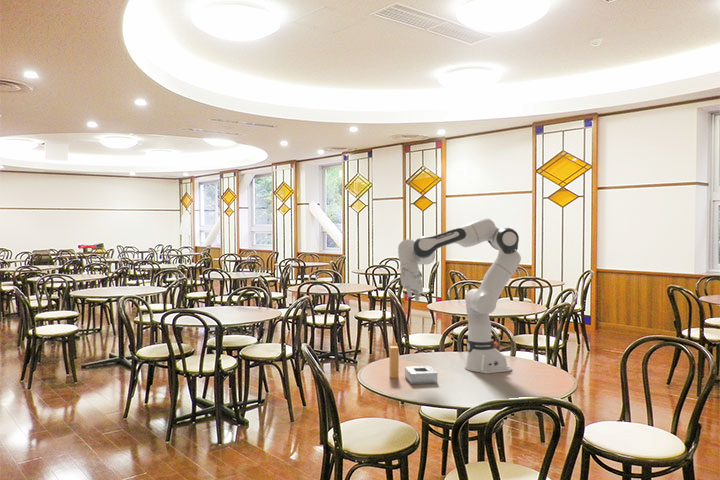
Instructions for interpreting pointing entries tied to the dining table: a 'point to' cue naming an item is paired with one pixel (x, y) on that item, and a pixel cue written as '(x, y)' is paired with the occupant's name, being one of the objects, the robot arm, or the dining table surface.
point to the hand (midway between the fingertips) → (413, 298)
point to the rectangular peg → (394, 362)
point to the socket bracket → (421, 375)
